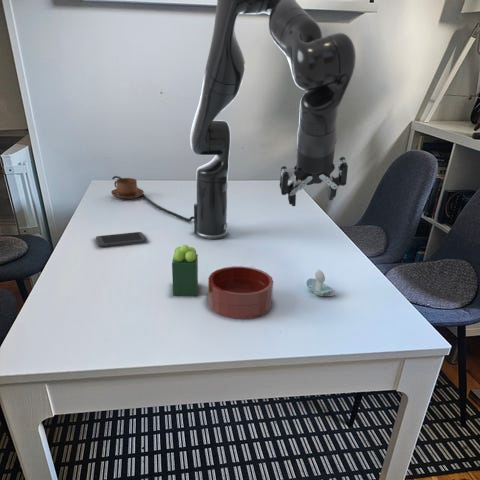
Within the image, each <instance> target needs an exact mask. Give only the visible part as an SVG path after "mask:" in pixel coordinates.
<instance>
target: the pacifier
mask: <svg viewBox="0 0 480 480" xmlns="http://www.w3.org/2000/svg"><path fill="white" fill-rule="evenodd" d="M314 277H315V278H308V279H307V280H306V287H307V289H308V290H310V291H312V292H313V294H314V295H316V296H319V297H324V296H326V297H333V296H334V295H335V294H336V291H335V290H334V289H333V288H332V287H331V286H329V285H327V284H326V283H324V282H325V281H326V276H325V273H324V272H323V271H322V270H321V269H317V270H316V271H315V273H314Z"/></svg>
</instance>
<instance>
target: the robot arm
mask: <svg viewBox="0 0 480 480" xmlns="http://www.w3.org/2000/svg"><path fill="white" fill-rule="evenodd" d="M261 14H265V15H268V16H269V17H268V31H269V35H270V37H271V39H272V41H273V42H274V43H275V45H276V46H277V47H278V48H279V49H280V51H281V52H282V53H283V54H284V55H285V57H286V59H287V62H288V64H289V68H290V72H291V76H292V79H293V81H294V84H295V85H296V86H297V87H298V88H299V89H301V90H304V91H305V93H303V95H302V96H301V99H300V102H299V113H298V115H299V119H298V128H297V135H296V158H295V159H296V160H295V166H294V167H293V168H287V166H285V165H284V166H281V167H280V173H279V174H280V175H279V188H280V193H281V196H286V195H287V200H288V204H289V205H291V207H296V204H297V203H296V202H297V193H298V192H299V191H301V190H302V189H304V188H305V186H311V185H315V184H322V183H324V184H326V185H327V186H328V187H327V197H328V201H329V202H330V201H333V200H334V199H335V198H336V196H337V190H338V188H339V187H340V186H342V187H344V186H346V185H347V181H348V170H349V169H348V167H349V166H348V163H347V160H346V157H345V156H341V157H340V158H339V160H337V161H334V159H335V151H336V144H337V138H338V137H337V134H338V131H337V130H338V129H337V124H338V116H339V108H340V105H341V103H342V101H343V100H344V99H343V98H344V96H345V94H346V91H347V90H348V87H349V84H350V82H351V80H352V77H353V75H354V71H355V67H356V61H357V60H356V59H357V58H356V56H357V55H356V48H355V45H354V42H353V40H352V38H351V37H350V36H348V35H347V34H346V33H343V32H336V33H331V34H329V35H326V36H323V33H322V32H323V31H322V29H321V27H320V25H319V23H317V21H316V20H315V19H314V18H313V17H312V16H311V15H310V14H309V13H308V12H307V11H306V10H305V9H304V8H303V7H302V6H300V5H299V3H298V2H297V1H296V0H217V2H216V10H215V18H214V25H213V33H212V36H211V37H212V38H211V42H210V47H209V51H208V55H207V56H208V57H207V60H206V65H205V70H204V75H203V81H202V86H201V92H200V98H199V101H198V106H197V108H196V112H195V114H194V118H193V121H192V125H191V128H190V138H189V139H190V143H189V144H190V148H191V151H192V153H194V154H195V155H197V156H214V157H213V158H212V159H211V160H209V162H207V163H205V164H202V165H200V166H198V168H197V169H196V173H195V175H196V177H195V178H196V202H194V203H193V215H192V216H190V217H189V218H187V217H185V216H182V215H180V214H179V213H175V212H174V211H171V210H168V209H166V208H165V207H162V206H160V205H158V204H157V203H155V202H153V200H151V199H150V198H149V197H147V196H146V194H144V193H143V194H142V195H141V196H142V198H144V199H145V200H146V201H147V202H148V203H150V204H151V205H152V206H154V207H156V208H157V209H159V210H161V211H163V212H165V213H167V214H169V215H172V216H175V217H177V218H179V219H181V220H183V221H186V222H191V221H193V234H194V235H197V236H198V237H199V238H203V239H207V240H217V239H222V238H225V237H226V236H227V228H228V222H227V219H228V218H227V216H228V215H227V213H228V179H229V177H228V176H229V168H230V167H229V166H230V152H231V140H232V139H231V138H232V137H231V136H232V135H231V128H230V125H229V122H227V120H224V119H223V120H222V119H215V118H216V117H218V115H219V114H221V112H223V111H224V110H226V108H228V106H230V104H232V103H233V101H234V100H235V99H236V98H237V96H238V95H239V92H240V90H241V87H242V83H243V79H244V76H245V71H246V62H245V57H244V55H243V52H242V49H241V46H240V44H239V42H238V40H237V36H236V32H235V26H236V21H237V18H238V16H240V15H261ZM335 169H336V170H337V172H338V175H337V177H335V176H334V175H333V174H332V173H333V172H334V171H335ZM292 176H293V178H292ZM121 178H122V177H121V176H119V175H114V176H112V178H111V180H115V179H117V180H118V179H121ZM291 179H292V180H291ZM289 181H290V183H289Z"/></svg>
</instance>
